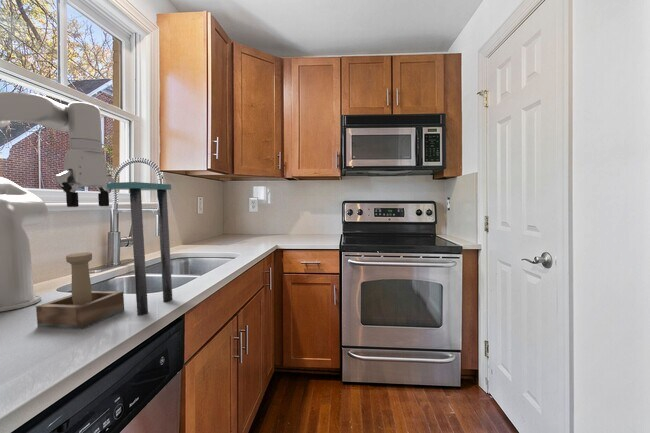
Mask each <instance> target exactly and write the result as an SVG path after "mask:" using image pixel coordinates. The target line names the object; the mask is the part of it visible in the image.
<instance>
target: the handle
mask: <svg viewBox="0 0 650 433" xmlns="http://www.w3.org/2000/svg"><path fill="white" fill-rule="evenodd" d="M65 259H66V261H65V262H66V263H68V264H70V265H71V266H70V267H71V295H72V300H73V305H83V304H86V303H89V302H92V291H93V290H92V284H91V277H90V276H91V275H90V269H89V268H90V267H89V262H91V261H92V260H93V252H90V251H89V252H76V253H72V254H71V253H70V254H67V255H66V256H65Z"/></svg>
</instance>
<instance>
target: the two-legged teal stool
mask: <svg viewBox="0 0 650 433" xmlns="http://www.w3.org/2000/svg"><path fill="white" fill-rule="evenodd" d="M107 189H112V190H118V191H119V190H124V191H129V200H130V203H129V204H130V217H131V218H130V219H131V236H132V249H133V251H132V252H133V253H132V254H133V267H134V283H135V298H136V299H135V301H136V302H135V303H136V315H137V316H146V315H147V314H149V305H148V290H147V289H148V287H147V272H146V271H147V270H146V269H147V268H146V257H145V256H146V255H145V254H146V253H145V238H144V237H145V236H144V221H143V205H142V202H143V201H142V191H156V197H157V198H156V199H157V213H158V231H159V247H160V248H159V250H160V252H159V253H160V264H161V266H160V267H161V269H160V270H161V284H162V285H161V287H162V302H163V303H169V302H172V301H173V286H172V285H173V284H172V282H173V281H172V280H173V279H172V264H171V245H170V228H169V208H168V191H169V190H170V191H171V190H172V184H167V183H155V182H153V183H152V182H143V181H141V182H140V181H139V182H138V181H126V182H123V181H122V182H115V183H107Z"/></svg>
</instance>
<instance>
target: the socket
mask: <svg viewBox="0 0 650 433" xmlns="http://www.w3.org/2000/svg"><path fill="white" fill-rule="evenodd" d="M35 308H36V310H35V311H36V323H37V324H36V325H37V328H45V329H67V330H69V329H70V330H71V329H73V330H85V329H86V328H88V327H90V326H93V325H95V324H97V323H99V322H102V321H104V320H105V319H106V320H107V319H108V318H111V317H112V316H115V315H116V314H119V313H121V312H124V311H125V298H124V291H114V290H113V291H108V290H106V291H103V290H92V302H89V303H86V304H83V305H73V300H72V294H69V295H65V296H63V297H61V298H57V299H53V300H52V301H48V302H45V303H42V304H39V305H36V306H35Z"/></svg>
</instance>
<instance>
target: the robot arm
mask: <svg viewBox="0 0 650 433" xmlns="http://www.w3.org/2000/svg"><path fill="white" fill-rule="evenodd" d="M101 116H102V115H101V110H100V108H99V107H98V106H97V105H95V104H92V103H89V102H83V101H72V102H70V103H68V105H66V104H63V103H59V102H57V101H55V100H53V99H51V98H49V97H46V96H43V95H40V94H35V93H30V92H29V93H28V92H27V93H26V92H15V91H14V92H13V91H0V129H1V128H4V127H6V126H8V125H9V124H10V122H20V123H21V122H22V123H29V124H30V123H31V124H36V125H38V126H39V125H40V126H41V127H42V126H43V127H46V128H49V129H52V130H55V131H59V132H68V144H69V149H67V150H66V153H65V157H64V163H63V164H64V165H63V172H61V173H59V174H56V175H55V177H54V179H55V180H56V181H57V183H58V186H59V187H60V188H61V189H62V191H63V193H65V197H66V198H65V199H66V200H65V201H66V207H67V208H78V207H79V205H80V204H79V194H78V192H77V190H78V189H79V188H80V187H85V188H92V187H93V188H94V187H95V189H97V190H98V192H99V193H97V196H98V197H97V198H98V206H99V207H109V206H110V197H109V196H110V194H111V193H112V192H111V191H112V190H113V189H107V183H116V179H114V178H113V177H112V176H110V175H109V174H108V168H107V162H106V157H105V154H104V153H103V151H104V150H105V148H104V147H105V146H103V135H102V117H101ZM48 214H49V210H48V206H47V205H46V203H45V202H44V201H43V199H41V198H40V197H38V196H37V195H35V194H34V193H32V192H30V191H29V190H27V189H25V188H23V187H21V186H20V185H18V184H16V183H15V182H13V181H11V180H9V179H8V178H6V177H2V176H0V312H8V311H12V310H17V309H21V308H26V307H28V306H31V305H34V304H36V303H39V302H41V300H42V296H41V295H39V294H35V291H34V284H33V283H34V282H33V281H34V280H33V270H32V257H31V256H32V255H31V246H30V244H31V243H30V239H29V236H28V234H27V233H26V231H25V229H24V227H32V226H36V225H39V224H41V223H43V222H44V221H45V220H46V218H47V216H48Z"/></svg>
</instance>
